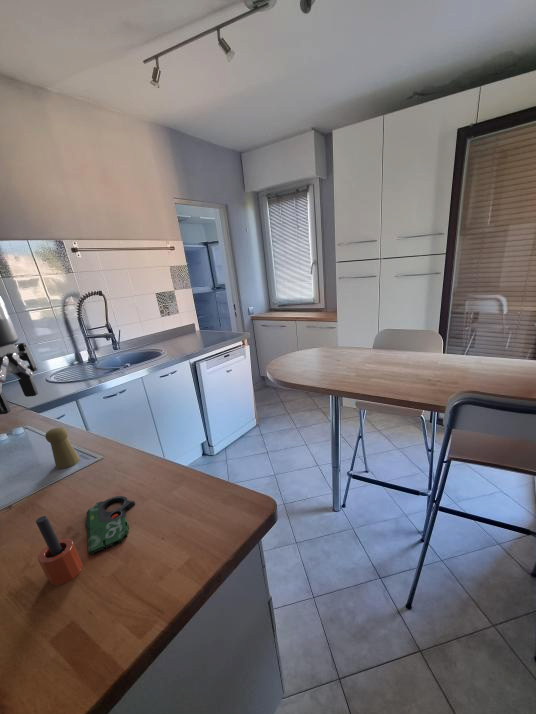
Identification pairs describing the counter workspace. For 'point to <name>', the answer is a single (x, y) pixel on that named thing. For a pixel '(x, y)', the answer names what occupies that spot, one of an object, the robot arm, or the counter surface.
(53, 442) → the cork
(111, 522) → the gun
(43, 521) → the dark gray rod
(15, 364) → the robot arm
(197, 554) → the counter surface
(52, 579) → the pen cup
